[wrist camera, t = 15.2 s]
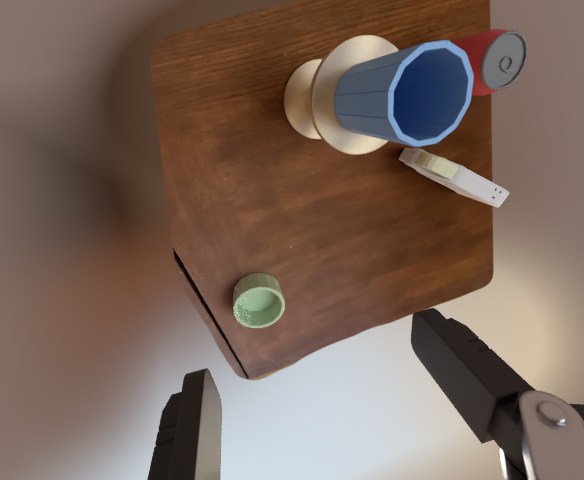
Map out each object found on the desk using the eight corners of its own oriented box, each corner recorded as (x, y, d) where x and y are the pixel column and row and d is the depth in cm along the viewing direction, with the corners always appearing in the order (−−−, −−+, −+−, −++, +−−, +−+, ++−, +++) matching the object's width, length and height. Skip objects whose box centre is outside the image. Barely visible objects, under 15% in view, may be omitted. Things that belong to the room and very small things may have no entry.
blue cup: (323, 119, 26) (371, 126, 17) (350, 51, 24) (419, 20, 15) (373, 141, 28) (440, 158, 19) (402, 80, 26) (490, 67, 17)
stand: (273, 123, 39) (295, 133, 26) (299, 45, 36) (339, 11, 23) (334, 148, 43) (380, 168, 29) (362, 79, 39) (430, 66, 26)
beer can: (436, 105, 43) (503, 106, 32) (405, 83, 41) (466, 76, 30) (463, 61, 41) (544, 46, 30) (432, 35, 38) (508, 9, 28)
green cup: (227, 307, 52) (227, 324, 48) (241, 267, 48) (242, 282, 45) (271, 315, 54) (274, 331, 50) (287, 277, 51) (292, 292, 47)
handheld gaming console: (398, 143, 46) (466, 179, 50) (389, 159, 47) (457, 193, 51) (434, 148, 36) (517, 193, 40) (422, 168, 37) (504, 210, 40)
